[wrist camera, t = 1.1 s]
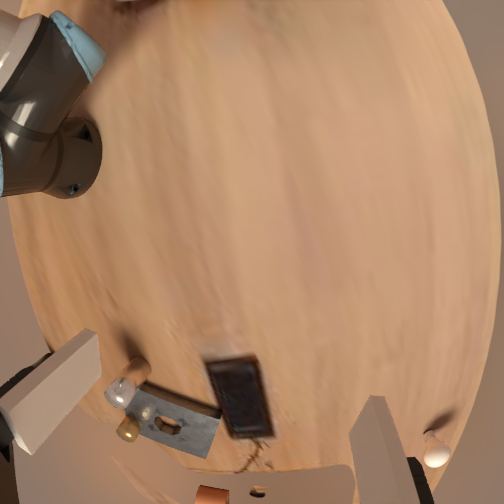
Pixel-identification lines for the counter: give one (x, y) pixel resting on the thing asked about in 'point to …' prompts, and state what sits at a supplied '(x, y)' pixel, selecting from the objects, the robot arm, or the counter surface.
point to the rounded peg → (128, 383)
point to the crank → (211, 495)
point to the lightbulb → (435, 450)
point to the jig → (179, 409)
